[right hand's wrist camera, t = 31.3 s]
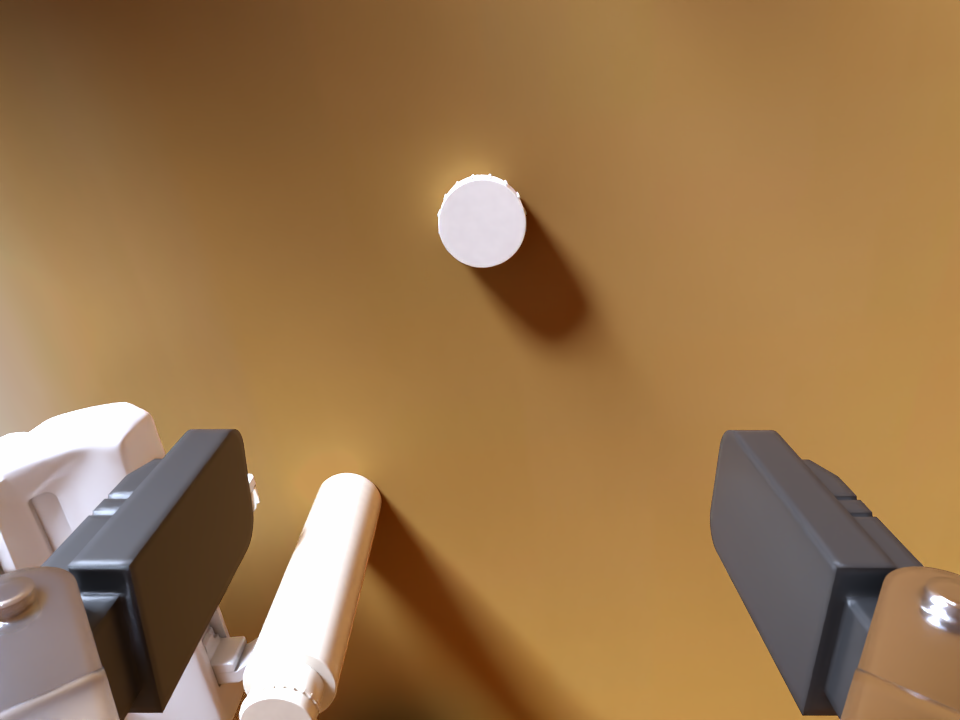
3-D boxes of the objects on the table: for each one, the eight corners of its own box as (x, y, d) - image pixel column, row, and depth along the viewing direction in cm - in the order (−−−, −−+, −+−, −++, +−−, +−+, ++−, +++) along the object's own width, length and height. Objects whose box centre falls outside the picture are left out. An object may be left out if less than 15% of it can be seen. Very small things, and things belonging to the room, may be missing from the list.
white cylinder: (326, 464, 41) (237, 677, 26) (389, 483, 42) (338, 702, 27) (310, 517, 43) (217, 748, 28) (371, 535, 43) (313, 770, 28)
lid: (537, 239, 36) (540, 247, 34) (461, 272, 37) (459, 282, 35) (504, 159, 35) (506, 163, 33) (425, 195, 35) (422, 201, 33)
